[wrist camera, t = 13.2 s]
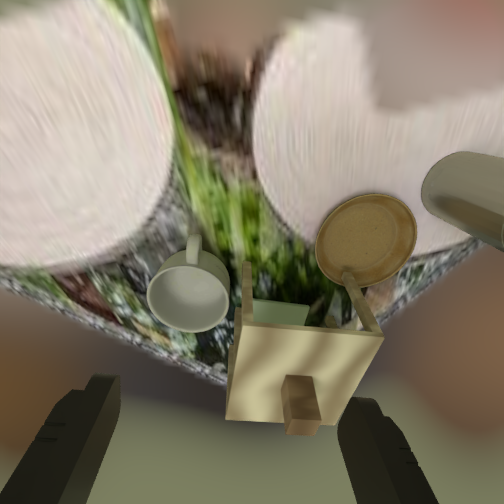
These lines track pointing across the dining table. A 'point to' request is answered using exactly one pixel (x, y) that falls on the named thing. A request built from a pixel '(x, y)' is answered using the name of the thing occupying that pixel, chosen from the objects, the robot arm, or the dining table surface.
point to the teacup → (190, 289)
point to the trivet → (279, 312)
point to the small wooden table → (297, 365)
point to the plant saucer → (366, 239)
